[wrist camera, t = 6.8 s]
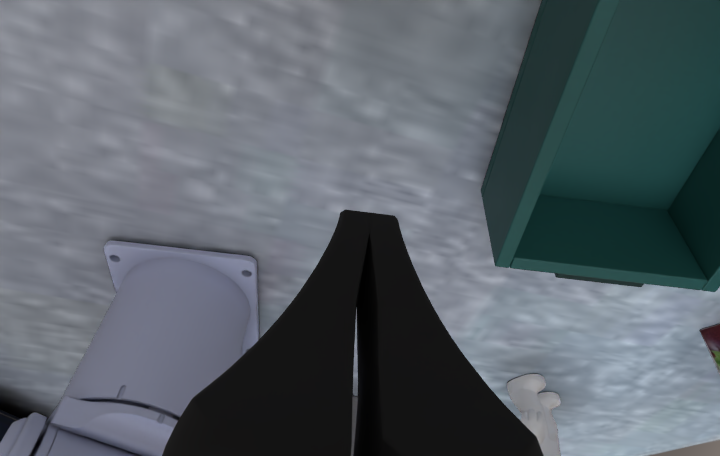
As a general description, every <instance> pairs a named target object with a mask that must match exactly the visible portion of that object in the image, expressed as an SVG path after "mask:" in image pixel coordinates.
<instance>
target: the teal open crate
mask: <svg viewBox="0 0 720 456" xmlns="http://www.w3.org/2000/svg"><path fill="white" fill-rule="evenodd" d="M481 193H482V197H483V204H484V209H485V215H486V220H487V225H488V231H489V236H490V241H491V247H492V252H493V257H494V263H495V266H497V267H506V268H509V267H510V268H514V269H523V270H531V271H540V272H549V273H555V276H556V277H558V278H566V279H575V280H584V281H592V282H601V283H609V284H618V285H627V286H635V287H642V285H643V284H652V285H660V286H669V287H678V288H686V289H695V290H703V291H711V292H715V291H716V290H717V289H718V288H719V287H720V0H542V3H541V6H540V9H539V12H538V15H537V18H536V21H535V24H534V28H533V31H532V34H531V37H530V40H529V43H528V46H527V49H526V52H525V55H524V58H523V62H522V65H521V68H520V71H519V74H518V77H517V80H516V83H515V86H514V89H513V92H512V96H511V99H510V102H509V105H508V108H507V111H506V114H505V117H504V120H503V123H502V127H501V130H500V133H499V136H498V139H497V142H496V145H495V148H494V151H493V154H492V157H491V161H490V164H489V167H488V170H487V173H486V176H485V179H484V182H483V185H482V188H481Z"/></svg>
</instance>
